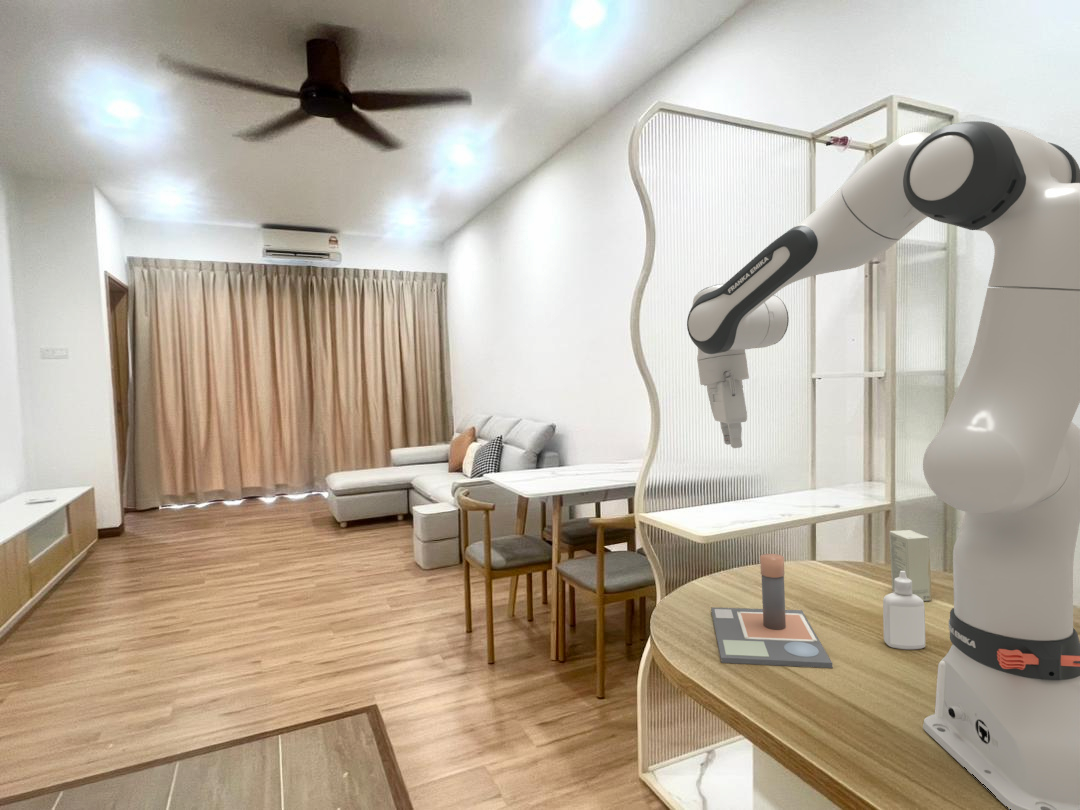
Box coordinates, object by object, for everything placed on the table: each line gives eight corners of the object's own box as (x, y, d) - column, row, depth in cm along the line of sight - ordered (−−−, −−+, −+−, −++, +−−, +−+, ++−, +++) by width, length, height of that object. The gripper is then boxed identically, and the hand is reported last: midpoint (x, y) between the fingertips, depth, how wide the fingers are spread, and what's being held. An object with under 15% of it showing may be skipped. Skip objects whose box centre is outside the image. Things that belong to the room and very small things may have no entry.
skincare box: (932, 601, 111) (931, 537, 111) (908, 602, 111) (907, 538, 111) (912, 589, 117) (911, 529, 117) (889, 590, 118) (888, 530, 117)
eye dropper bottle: (923, 655, 91) (922, 578, 91) (882, 646, 95) (880, 572, 94) (926, 644, 95) (925, 570, 94) (886, 636, 98) (884, 564, 98)
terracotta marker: (788, 630, 100) (786, 560, 99) (765, 629, 101) (762, 560, 100) (783, 621, 104) (781, 553, 103) (761, 620, 104) (758, 553, 104)
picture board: (832, 668, 89) (832, 662, 89) (721, 662, 92) (721, 656, 92) (802, 614, 108) (801, 609, 108) (711, 611, 112) (711, 606, 111)
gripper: (749, 367, 101) (760, 448, 100) (733, 373, 121) (742, 440, 120) (711, 372, 102) (722, 452, 101) (701, 377, 122) (710, 444, 122)
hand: (733, 445), depth 111 cm, fingers open, 8 cm apart
